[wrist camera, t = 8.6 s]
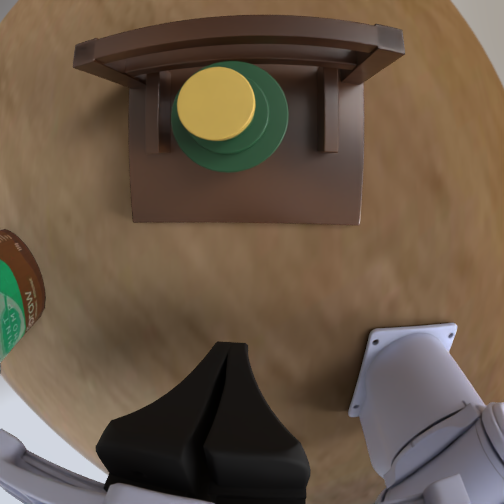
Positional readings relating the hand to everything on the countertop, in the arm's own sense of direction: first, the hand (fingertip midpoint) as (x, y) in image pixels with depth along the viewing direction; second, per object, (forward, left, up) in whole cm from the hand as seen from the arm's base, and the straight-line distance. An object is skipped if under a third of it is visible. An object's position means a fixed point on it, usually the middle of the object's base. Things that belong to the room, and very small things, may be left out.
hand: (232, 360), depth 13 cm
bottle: (+10, 0, -7) cm, 12 cm away
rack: (+10, 0, -7) cm, 12 cm away
